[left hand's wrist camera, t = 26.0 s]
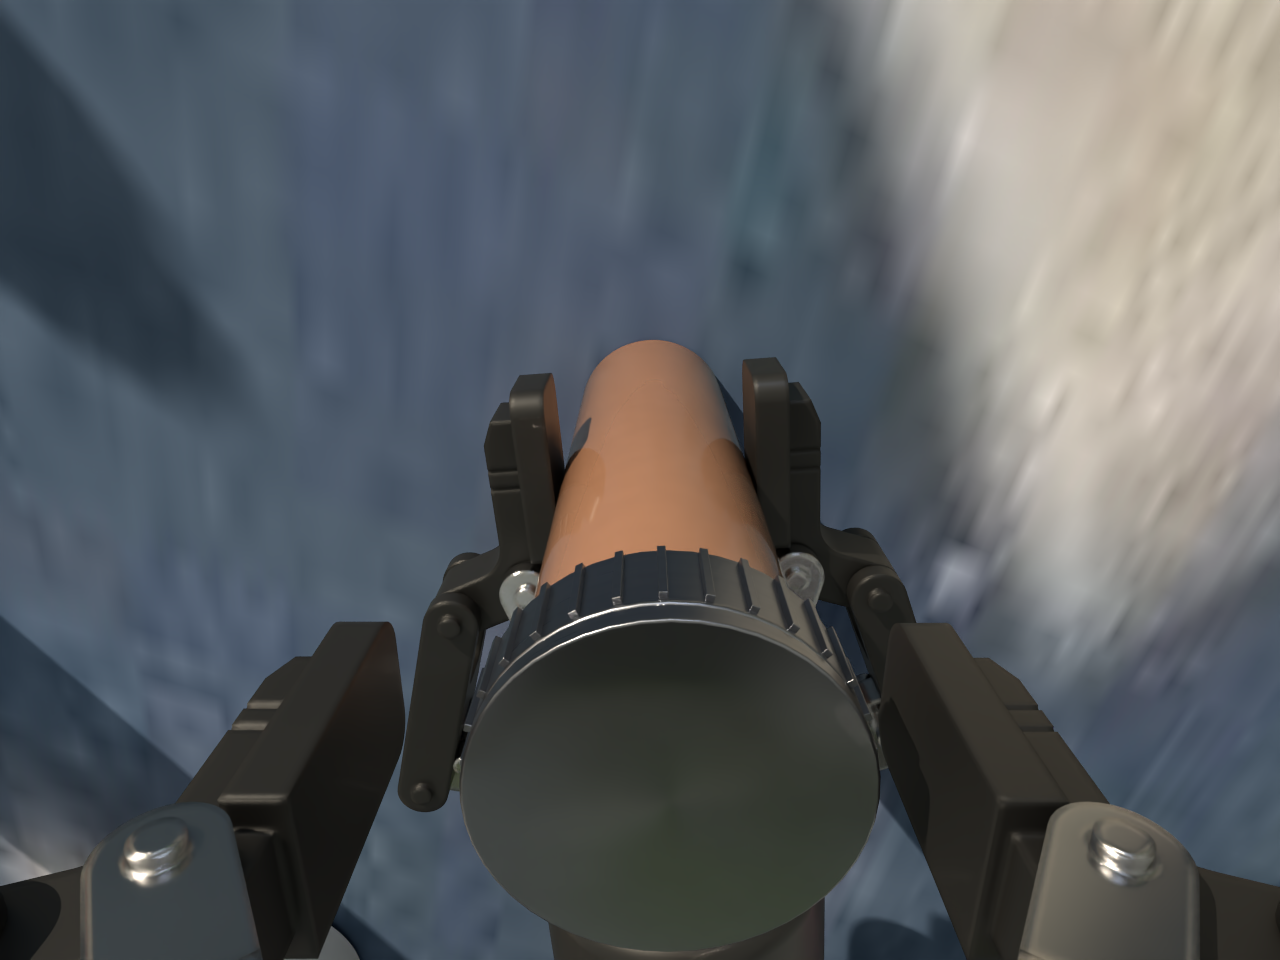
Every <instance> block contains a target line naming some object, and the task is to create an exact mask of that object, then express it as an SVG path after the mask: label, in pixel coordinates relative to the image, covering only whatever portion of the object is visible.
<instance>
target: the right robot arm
mask: <svg viewBox="0 0 1280 960" xmlns="http://www.w3.org/2000/svg"><path fill="white" fill-rule="evenodd" d="M742 380H743V415H744V449H745V461H746V464H747V467H748V470H749V473H750V476H751V479H752V482H753V485H754V488H755V491H756V493H757V496H758V499H759V502H760V505H761V508H762V511H763V514H764V517H765V520H766V523H767V526H768V529H769V531H770V534H771V537H772V540H773V543H774V546H775V549H776V552H777V555H778V558H779V561H780V564H781V566H782V569H783V572H784V575H785V578H786V581H787V584H788V587H789V590H791V591H792V592H793V593H794V594H796V595H797V596H798V597H799V598H801V599H802V600H803V601H805V600H806V599H808V598H809V599H810V600H811V601H812V602H813V603H814V606H815V607H816V604H817V601H818V600H822V601H826V602H829V603H833V604H837V605H841V606H845V607H846V609H847V612H848V615H849V618H850V621H851V624H852V626H853V629H854V632H855V635H856V638H857V641H858V644H859V647H860V650H861V653H862V655H863V658H864V661H865V664H866V667H867V670H868V673H869V674H860V675H858V676H857V677H856V679H857V681H858V684H859V686H860V689H861V691H862V693H863V696H864V698H865V701H866V703H867V706H868V708H869V710H870V713H871V716H872V720H870V721H867V723H868V726H869V728H870V731H871V733H872V736H873V738H874V741H875V743H876V746H877V748H878V760H879V768H880V770H883V769H887V768H888V765H887V763H886V760H885V758H884V755H883V751H882V747H881V742H880V734H879V709H880V701H881V694H882V686H883V678H884V671H885V663H886V655H887V647H888V640H889V634H890V631H891V628H892V626H893V625H894V624H895V623H916V620H915V617H914V614H913V611H912V607H911V604H910V601H909V598H908V595H907V591H906V589H905V587H904V585H903V583H902V582H901V580H900V579H899V577H898V575H897V573H896V572H895V570H894V569H893V567H892V565H891V564H890V562H889V560H888V559H887V557H886V556H885V554H884V552H883V551H882V549H881V547H880V546H879V544H878V543H877V541H876V539H875V538H874V536H873V535H872V534H871V533H870V532H868V531H867V530H864V529H861V528H849V529H845V530H843V531H840V530H836V529H832V528H829V527H826V526H824V525H822V524H820V460H821V452H820V447H821V422H820V420H819V417H818V415H817V413H816V410H815V408H814V406H813V403H812V401H811V399H810V398H809V396H808V395H807V393H806V392H805V390H804V389H803V388H802V386H801V385H800V383H799V382H794V383H788V379H787V375H786V372H785V370H784V369H783V367H782V366H781V364H780V363H779V361H778V360H777V358H776V357H773V358H759V359H745V360H743V366H742ZM484 450H485V456H486V463H487V469H488V475H489V482H490V488H491V495H492V501H493V508H494V514H495V521H496V527H497V533H498V540H499V546H498V547H496V548H495V549H493V550H491V551H488V552H486V553H483V554H481V555H480V554H477V553H462V554H460V555H458V556H456V557H455V558H453V559H452V561H451V562H450V564H449V566H448V568H447V570H446V572H445V574H444V577H443V583H442V585H441V587H440V589H439V591H438V593H437V596H436V598H435V599H433V601H432V602H431V604H430V606H429V608H428V610H427V612H426V614H425V616H424V619H423V625H422V631H421V638H420V645H419V651H418V658H417V665H416V671H415V678H414V685H413V691H412V698H411V704H410V711H409V718H408V724H407V731H406V738H405V744H404V751H403V757H402V764H401V771H400V777H399V784H398V795H399V798H400V800H401V801H402V802H403V803H404V804H405V805H406V806H407V807H409V808H410V809H413V810H415V811H419V812H431V811H435V810H437V809H439V808H441V807H442V806H443V805H444V804H445V802H446V800H447V797H448V794H449V791H450V790H454V791H460V781H459V779H460V771H461V766H460V757H461V754H462V751H463V748H464V744H465V741H466V738H467V734H468V732H465V731H463V729H464V725H465V722H466V719H467V715H468V712H469V709H470V706H471V703H472V699H473V696H474V693H475V688H476V682H477V677H478V671H479V666H480V661H481V655H482V650H483V644H484V639H485V634H486V629H488V628H491V627H493V626H496V625H498V624H500V623H503V622H505V621H508V620H510V621H511V618H512V614H513V611H514V610H515V609H516V608H517V607H519V608H520V609H522V610H523V609H524V608H525V607H526V606H527V605H528V604H529V603H530V602H531V601H532V600H533V598H534V594H535V590H536V586H537V582H538V578H539V573H540V569H541V565H542V561H543V557H544V553H545V549H546V545H547V541H548V537H549V533H550V529H551V525H552V521H553V517H554V513H555V508H556V504H557V500H558V496H559V492H560V488H561V484H562V480H563V476H564V472H565V468H564V459H563V451H562V442H561V434H560V425H559V417H558V408H557V400H556V391H555V384H554V379H553V375H552V373H545V374H532V375H520V376H519V377H518V379H517V381H516V383H515V384H514V386H513V388H512V390H511V392H510V399H509V402H508V403H501V404H500V406H499V407H498V409H497V411H496V413H495V414H494V416H493V418H492V420H491V421H490V424H489V428H488V432H487V436H486V440H485V443H484ZM824 910H825V897H824V898H822V899H821V900H820V901H819V902H817V903H816V904H815V905H813V906H812V907H811V908H810V909H808V910H807V911H805V912H804V913H802V914H800V915H799V916H797V917H795V918H794V919H792V920H791V921H789V922H787V923H785V924H783V925H781V926H779V927H777V928H775V929H772V930H770V931H768V932H766V933H763V934H761V935H758V936H755V937H752V938H749V939H747V940H744V941H740V942H736V943H732V944H728V945H724V946H720V947H714V948H707V949H700V950H693V951H674V952H663V951H642V950H635V949H628V948H621V947H616V946H612V945H607V944H603V943H599V942H595V941H592V940H589V939H586V938H583V937H581V936H578V935H575V934H572V933H570V932H568V931H566V930H563V929H561V928H559V927H557V926H555V925H553V924H551V923H549V922H548V923H549V929H550V936H551V942H552V948H553V954H554V960H824Z"/></svg>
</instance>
